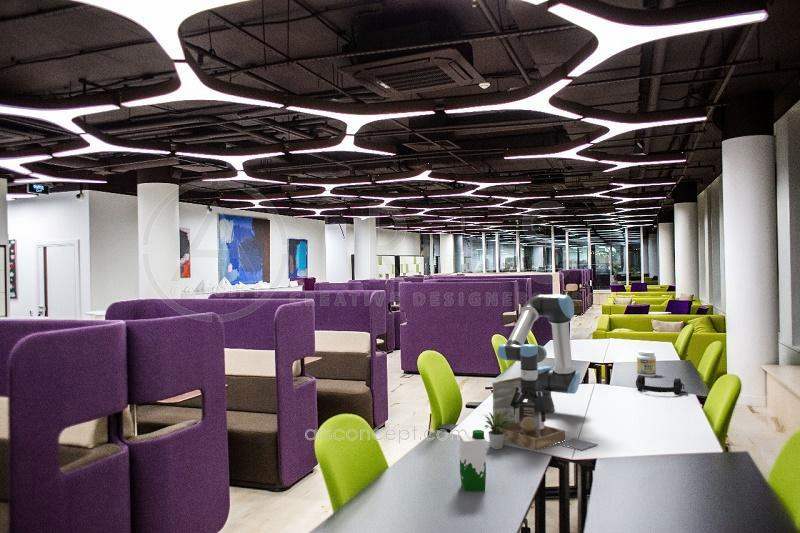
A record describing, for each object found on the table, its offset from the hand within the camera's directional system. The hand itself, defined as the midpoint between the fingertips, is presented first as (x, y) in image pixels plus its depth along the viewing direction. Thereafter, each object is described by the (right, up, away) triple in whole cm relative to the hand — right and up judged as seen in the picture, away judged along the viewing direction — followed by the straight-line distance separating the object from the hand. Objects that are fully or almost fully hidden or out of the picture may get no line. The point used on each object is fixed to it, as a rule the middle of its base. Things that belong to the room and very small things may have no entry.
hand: (529, 425), depth 263 cm
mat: (+19, -6, -9) cm, 22 cm away
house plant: (-17, -7, -12) cm, 22 cm away
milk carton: (-33, -7, -56) cm, 65 cm away
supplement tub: (+115, -5, +145) cm, 185 cm away
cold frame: (0, -6, 0) cm, 6 cm away
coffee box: (0, -6, 0) cm, 6 cm away
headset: (+102, -5, +95) cm, 140 cm away
